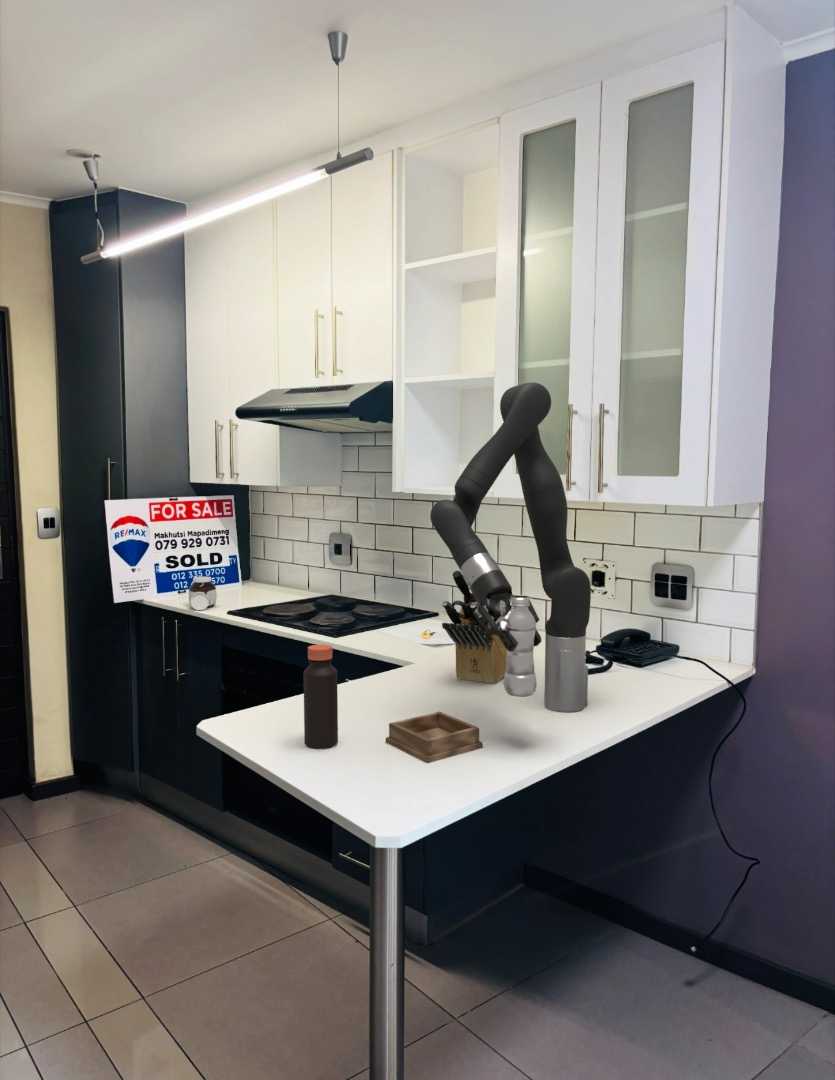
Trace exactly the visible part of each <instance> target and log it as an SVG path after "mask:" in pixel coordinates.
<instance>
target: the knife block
mask: <svg viewBox="0 0 835 1080" xmlns="http://www.w3.org/2000/svg"><path fill="white" fill-rule="evenodd" d="M452 577H453V580H454V583H455V585H456V587H457V588H458V590H459V591H460V593H461V594H462V596H463V600H462V601H461V600H454V601H453V602H452V603H451V602H449V601H448V600H444V601H442V603H441V606H442V607H443V609H445V612H446V614H447V616H448V617H449V619H450V621H451V622H450V623H449V622H442V623H441V627H442V629H443V630H444V631H445V632H446V633H447V635H448V637H449V638H450V639H451V640H452V641H453V642H454V644H455V676H456V678H457V679H460V678H461V679H460V680H462V679H464V680H469V681H470V680H471V681H477V682H486V683H488V684H494V683H496V682H497V681H498V680H500V679H502V678H504V675H505V671H506V657H507V654H506V650H507V649H506V648H505V646H504V645H503V643H502V641H501V640H500V638H499V637H497V636H496V635H492V636H489V635H488V634H487V633H486V631H485V630H484V628H483V627H482V626H481V624H480V623H479V621H478V620H477V619H476V617H475V616H474V614H473V613H474V611H475V610H476V609H477V608H478V606H479V603H478V602H477V600H476V598H475V597H474V595H473V593H472V592H471V590H470V588H469V586H468V585H467V583H466V581H465V579H464V577H463V574H462V572H461V570H455V571H454V572H452ZM455 606H460V610H459V611H458V610H456V608H455ZM488 625H489V627H491V626H490V624H489V623H488Z"/></svg>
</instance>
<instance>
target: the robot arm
mask: <svg viewBox="0 0 835 1080" xmlns="http://www.w3.org/2000/svg"><path fill="white" fill-rule="evenodd" d="M551 407H552V397H551V394H550V391H549V390H548V389H547V388H546V387H545V386H544V385H543V384H541V383H539V382H526V383H522V384H521V383H520V384H518V385H515V386H511V387H509V388H508V389H506V390H505V391H504V393H503V394H502V396H501V398H500V402H499V409H500V411H499V412H500V415H501V419H502V421H503V423H502V424H501V425H500V426H499V428H498V429H497V431H496V432H495V433H494V435H493V436H491V438H490V439H489V440H488V441H487V442H486V443H485V444H483V446H482V447H481V448H480V449H479V450H478V451H477V452H476V453H475V454H474V456H473V457H472V458H471V459H470V460H469V462H468V463H467V465H466V467H464V469H463V471H462V472H461V474H460V475H459V477H458V479H456V481H455V484H454V498H453V500H451V499H441V500H438V501H437V502H436V503H435V504H433V507H432V508H431V510H430V517H429V518H430V523H431V524H432V526H433V528H434V530H435V531H436V533H437V534H438V535H439V537H440V538H441V541H443V542H444V544H445V546H446V547H447V549H448V550H449V552H450V554H451V556H452V558H453V560H454V562H455V563H456V565H457V567H458V568H459V571H460V572H461V573H462V575H463V577H464V579H465V581H466V583H467V585H468V587H469V591H470V592H471V593H473V595H474V597H475V598H476V600H477V602H478V603H479V606H478V608H477V609H476V610H475V611H474V613H473V614H474V616H475V617H476V619H477V620H478V621H479V623H480V624H481V626H482V627H483V628H484V630H485V631H486V633H487V634H488V635H489V636H492V635H496V636H497V637H499V638H500V640H501V641H502V643H503V645H504V646H505V648H506V649H508V651H509V652H511V651H514V649H515V648H516V647H517V644H516V642H515V641H514V639H513V637H512V636H511V634H510V632H509V631H508V630H507V631H506V629H507V628H506V625H505V619H506V615H507V614H508V612H509V611H510V610H511V607H512V606H510V603H511V596H513V589H512V586H511V584H510V583H509V580H508V579H507V577H506V576H505V574H504V572H503V571H502V570H501V568H500V566H499V565H498V563H497V561H496V560H495V559H494V558H493V557H492V555H491V554H490V552H489V551H488V549H487V547H486V546H485V544H484V543H483V541H482V540H481V539H480V537H479V536H478V535H477V534H476V532H475V531H474V529H473V528H472V526H473V524H474V522H475V519H476V517H477V514H478V513H479V510H480V508H481V504H482V501H483V500H484V499H485V498H486V496H487V495H488V493H489V492H490V489H491V488H492V487H493V485H494V484H495V482H496V481H497V479H498V478H499V476H500V474H501V473H502V472H503V469H504V468H505V467H506V466H507V464H508V463H509V461H510V460H511V458H512V457H513V456H514V459H515V464H516V469H517V472H518V476H519V481H520V486H521V492H522V494H523V500H524V504H525V505H524V506H525V508H526V511H527V515H528V518H529V523H530V526H531V531H532V534H533V537H534V541H535V544H536V549H537V553H538V562H539V569H540V578H541V579H540V580H541V584H542V589H543V592H545V595H546V596H547V597H548V598H549V599H550V601H551V602H550V617H549V618H548V620H546V621H545V622H546V623H545V634H544V635H545V641H544V642H545V643H544V644H545V649H544V650H545V651H544V699H543V701H544V704H543V705H544V707H545V708H547V709H549V710H552V711H556V712H562V713H564V712H567V713H569V712H571V713H572V712H578V711H582V710H584V708H585V707H587V706H588V695H589V694H588V691H589V690H588V689H589V688H588V687H589V686H588V685H589V682H588V681H589V666H588V665H587V664H586V650H587V649H586V643H587V641H586V640H587V627H588V625H589V622H590V615H591V600H592V598H591V597H592V593H591V592H592V590H591V589H592V588H591V585H592V584H591V580H590V578H589V576H588V574H587V573H586V572H585V571H584V570H583V569H582V568H579V567H577V566H575V564H574V562H573V560H572V555H571V552H570V548H569V545H568V539H567V537H568V536H567V532H568V531H567V529H568V512H569V511H568V502H567V501H568V500H567V496H566V492H565V488H564V484H563V481H562V478H561V475H560V472H559V471H558V468H557V467H556V465H555V464H554V462H553V461H552V459H551V457H550V456H549V454H548V453H547V451H546V449H545V447H544V445H543V442H542V439H541V435H540V429H539V425H540V424H541V423H542V422H543V420H545V418H546V417H547V416H548V414H549V413H550V410H551ZM529 603H530V606H528V609H529V610H530V612H531V613H532V615H533V616H534V618H535V621H536V624H537V623H539V621H540V617H539V616H538V613H537V611H536V610H535V608H534V606H533V603H532V602H531V600H530V599H529ZM488 623H489V624H490V626H491V627H489V625H488ZM535 629H536V630H535V638H534V647H539V646H540V643H542V637H541V634H540V633H539V631H538V630H537V627H536V628H535Z"/></svg>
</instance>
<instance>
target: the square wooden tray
mask: <svg viewBox="0 0 835 1080" xmlns="http://www.w3.org/2000/svg"><path fill="white" fill-rule="evenodd" d="M386 742H387V743H386ZM385 743H386V744H388V743H389V744H388V745H390V744H391V745H390V746H391V747H394V746H395V747H394V748H396V749H398V750H400V751H402V752H404V753H406V754H408V755H410V756H412V757H414V758H416V759H419V760H420V761H421V762H424V763H426V764H428V763H432V762H436V761H440V760H443V759H447V758H451V757H453V756H454V757H455V756H457V755H460V754H461V755H462V754H464V753H469V752H471V751H476V750H478V749H483V748H484V742H482V741H481V740H480V727H478V726H476V725H473V724H472V723H469V722H467V721H463V720H462V719H459V718H456V717H454V716H451V715H450V714H449V715H448V714H446V713H444V712H441V711H436V712H432V713H428V714H427V713H426V714H424V715H420V716H414V717H411V718H407V719H402V720H397V721H393V722H390V723H388V736H387V737H385Z"/></svg>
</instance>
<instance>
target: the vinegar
mask: <svg viewBox="0 0 835 1080" xmlns="http://www.w3.org/2000/svg"><path fill="white" fill-rule="evenodd" d="M307 659H308V662H309V665H308V666H307V667H306V668H305V669H304V671H303V721H304V723H303V725H304V727H303V728H304V729H303V731H304V732H303V733H304V737H303V738H304V739H303V741H304V745H305V747H307V748H309V749H312V748H313V749H312V750H326V748H327V749H331V748H333V746H334V747H335V746H337V744H339V743H338V742H339V721H338V720H339V717H338V715H339V713H338V711H339V709H338V708H339V707H338V700H339V699H338V670H337V668H336V667H334V666H333V665H332V661H333V646H332V645H329V644H312V645H309V646H307Z"/></svg>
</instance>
